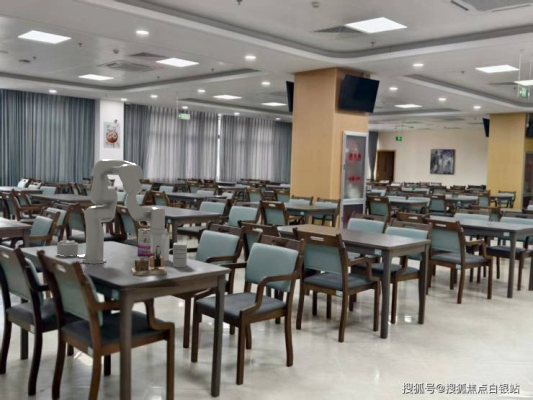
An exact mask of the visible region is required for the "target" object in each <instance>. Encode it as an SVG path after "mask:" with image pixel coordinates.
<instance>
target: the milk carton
mask: <svg viewBox="0 0 533 400" xmlns="http://www.w3.org/2000/svg"><path fill="white" fill-rule="evenodd" d="M160 256H162V257H164V260H163V263H164V262H168V261H169V260H170V233H169V231H168V228H165V233H164V235H162V253H161V254H160Z"/></svg>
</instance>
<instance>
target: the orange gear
mask: <svg viewBox="0 0 533 400" xmlns="http://www.w3.org/2000/svg"><path fill="white" fill-rule="evenodd" d="M154 257H155V256H151V257H149V259H148V260H149V267H151V268H160V267H161V268H162V267H164V262H163V260H164V257H162V256H160V259H161V266H160V267H154V259H155V258H154Z"/></svg>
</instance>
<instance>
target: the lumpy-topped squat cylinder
mask: <svg viewBox="0 0 533 400" xmlns="http://www.w3.org/2000/svg"><path fill="white" fill-rule="evenodd" d="M57 254H60V255H64V256H70V255H79V244H78V242H76V241H75V240H74V239H73V240H69V239H66V240H60V241H59V242H57V245H56V255H57Z"/></svg>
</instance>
